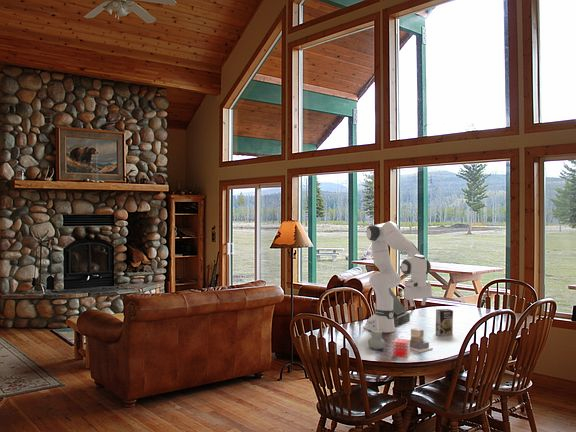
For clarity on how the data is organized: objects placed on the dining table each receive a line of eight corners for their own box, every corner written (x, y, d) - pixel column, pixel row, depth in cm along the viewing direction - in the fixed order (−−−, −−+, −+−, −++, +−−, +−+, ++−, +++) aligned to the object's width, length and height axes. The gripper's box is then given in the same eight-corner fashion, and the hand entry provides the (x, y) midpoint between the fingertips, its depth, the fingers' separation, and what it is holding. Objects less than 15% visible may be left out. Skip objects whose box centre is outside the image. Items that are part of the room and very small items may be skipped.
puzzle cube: (407, 357, 297) (407, 342, 297) (393, 355, 300) (393, 341, 300) (409, 353, 305) (410, 339, 305) (395, 352, 308) (395, 338, 307)
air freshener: (367, 346, 321) (367, 329, 320) (381, 346, 321) (381, 329, 321) (371, 351, 310) (371, 333, 310) (385, 350, 310) (386, 333, 310)
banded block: (418, 348, 313) (418, 330, 313) (410, 345, 318) (411, 328, 318) (423, 347, 316) (423, 329, 316) (415, 344, 321) (415, 328, 320)
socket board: (401, 346, 320) (401, 340, 320) (414, 344, 326) (414, 337, 326) (419, 352, 308) (419, 345, 308) (432, 349, 314) (432, 342, 314)
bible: (398, 326, 378) (398, 290, 377) (372, 323, 388) (372, 288, 388) (409, 321, 397) (410, 286, 397) (384, 317, 407) (385, 284, 407)
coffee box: (440, 336, 349) (440, 310, 349) (435, 333, 355) (435, 309, 355) (453, 335, 351) (453, 310, 351) (447, 333, 357) (447, 308, 357)
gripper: (426, 280, 328) (425, 303, 329) (402, 282, 317) (401, 306, 317) (434, 282, 323) (433, 305, 323) (410, 284, 312) (409, 308, 312)
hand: (417, 305), depth 320 cm, fingers open, 8 cm apart
